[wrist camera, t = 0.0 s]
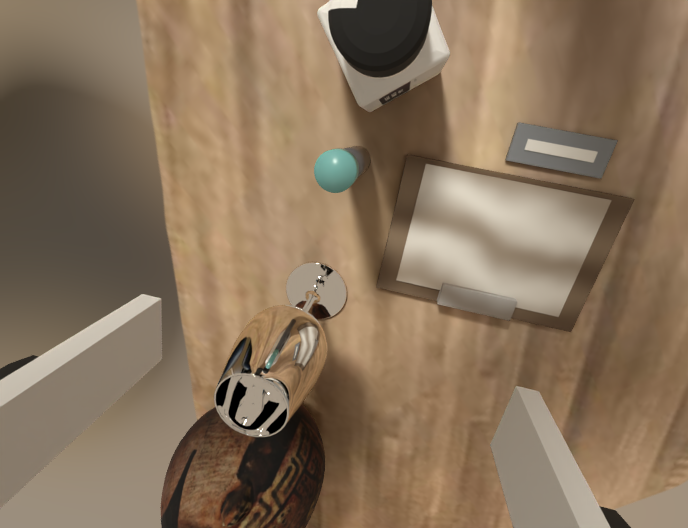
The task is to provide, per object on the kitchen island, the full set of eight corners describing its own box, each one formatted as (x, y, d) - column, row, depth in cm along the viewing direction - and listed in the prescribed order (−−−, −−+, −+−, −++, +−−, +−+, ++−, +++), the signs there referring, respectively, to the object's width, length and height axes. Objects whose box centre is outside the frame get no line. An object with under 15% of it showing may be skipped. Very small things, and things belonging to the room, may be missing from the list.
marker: (345, 142, 37) (317, 145, 25) (374, 147, 37) (359, 154, 25) (340, 171, 38) (311, 188, 26) (368, 177, 38) (351, 196, 26)
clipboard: (407, 154, 36) (407, 155, 35) (630, 198, 35) (640, 201, 33) (376, 285, 42) (375, 290, 40) (568, 329, 40) (574, 336, 39)
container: (441, 72, 34) (463, 37, 22) (368, 113, 36) (350, 102, 24) (408, -13, 32) (411, -104, 20) (333, 36, 34) (294, -19, 22)
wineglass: (287, 255, 42) (196, 349, 24) (351, 266, 42) (309, 372, 23) (283, 313, 45) (199, 437, 27) (344, 324, 44) (300, 460, 26)
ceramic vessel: (293, 486, 56) (181, 838, 28) (196, 429, 55) (-21, 733, 27) (364, 400, 48) (310, 770, 20) (253, 332, 47) (33, 619, 19)
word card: (517, 122, 34) (519, 122, 33) (615, 140, 33) (618, 140, 33) (505, 160, 35) (506, 160, 35) (599, 178, 34) (601, 178, 34)
